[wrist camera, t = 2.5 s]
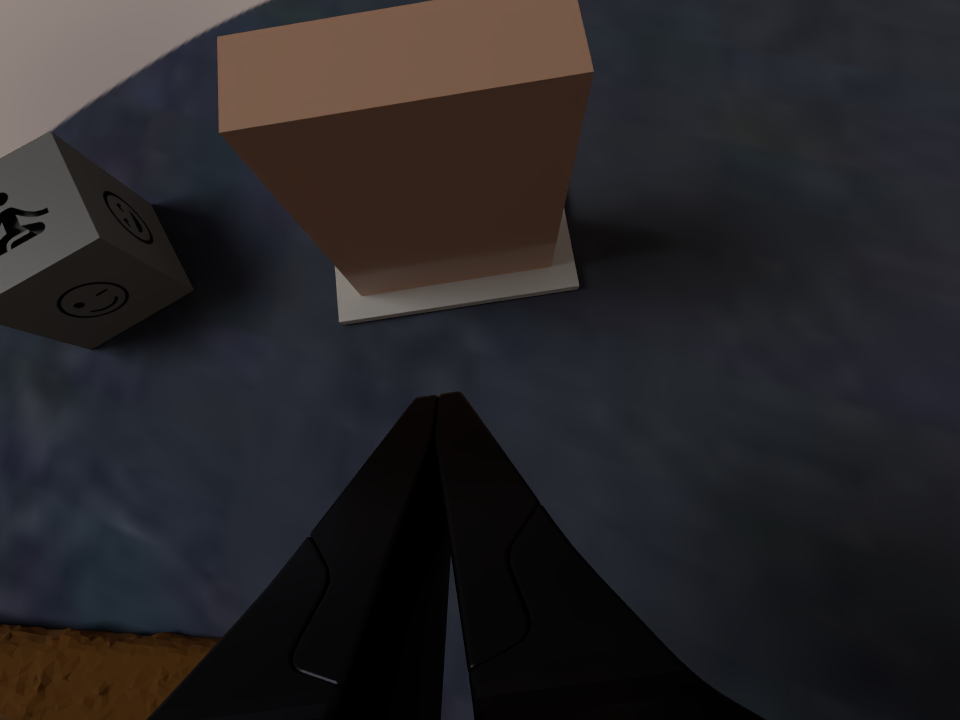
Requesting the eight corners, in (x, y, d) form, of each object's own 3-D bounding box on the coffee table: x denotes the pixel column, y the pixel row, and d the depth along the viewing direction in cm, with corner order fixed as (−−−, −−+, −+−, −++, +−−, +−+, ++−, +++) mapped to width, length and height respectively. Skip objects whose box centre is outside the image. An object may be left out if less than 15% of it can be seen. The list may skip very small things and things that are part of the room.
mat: (577, 289, 20) (579, 285, 19) (342, 324, 20) (339, 322, 20) (528, 35, 23) (528, 27, 22) (322, 69, 23) (319, 62, 22)
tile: (551, 267, 20) (593, 71, 10) (361, 295, 20) (219, 132, 10) (540, 208, 20) (570, -31, 10) (356, 237, 20) (216, 29, 11)
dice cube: (92, 350, 21) (-37, 314, 16) (54, 260, 22) (-79, 201, 17) (195, 290, 21) (99, 237, 16) (152, 205, 22) (50, 130, 17)
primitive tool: (375, 636, 18) (343, 678, 14) (352, 807, 17) (311, 897, 13) (-86, 575, 19) (-215, 600, 16) (-136, 728, 18) (-287, 791, 15)
